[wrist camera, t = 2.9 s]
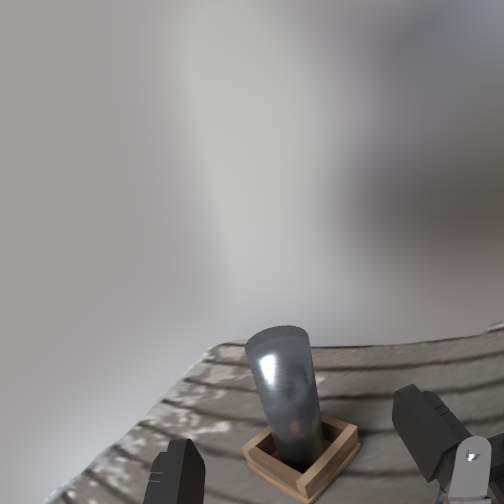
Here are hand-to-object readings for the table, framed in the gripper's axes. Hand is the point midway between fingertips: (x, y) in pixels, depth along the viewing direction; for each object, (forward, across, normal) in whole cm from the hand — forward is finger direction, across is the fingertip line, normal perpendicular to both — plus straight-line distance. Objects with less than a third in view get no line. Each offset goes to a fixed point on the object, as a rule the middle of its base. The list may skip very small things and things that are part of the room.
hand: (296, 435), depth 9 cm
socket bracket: (+12, 0, +19) cm, 23 cm away
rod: (+12, 0, +18) cm, 22 cm away
